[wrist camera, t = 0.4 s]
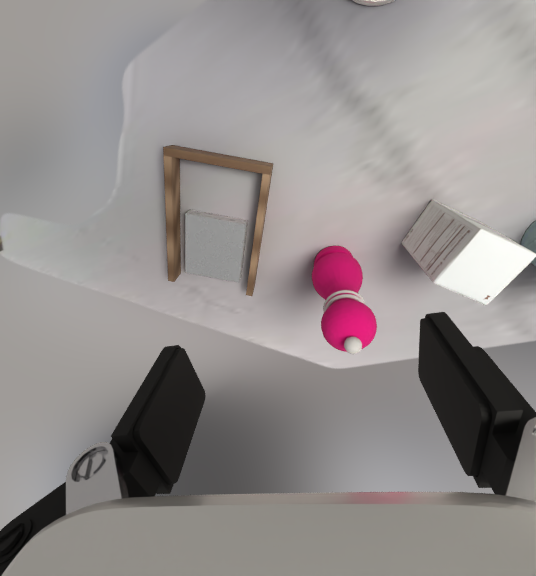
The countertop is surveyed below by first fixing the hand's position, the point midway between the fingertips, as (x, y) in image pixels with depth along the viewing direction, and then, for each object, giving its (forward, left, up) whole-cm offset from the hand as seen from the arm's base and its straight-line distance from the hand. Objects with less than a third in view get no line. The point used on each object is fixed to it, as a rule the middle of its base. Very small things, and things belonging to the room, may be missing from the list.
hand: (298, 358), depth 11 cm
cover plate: (+11, -11, -34) cm, 37 cm away
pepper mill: (+11, +8, -34) cm, 36 cm away
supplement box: (+3, +21, -34) cm, 40 cm away
